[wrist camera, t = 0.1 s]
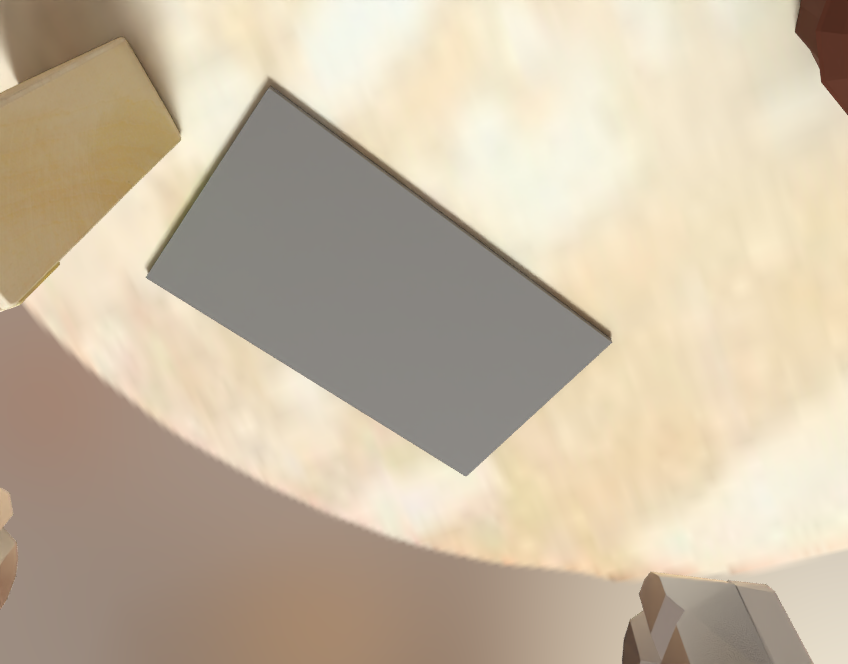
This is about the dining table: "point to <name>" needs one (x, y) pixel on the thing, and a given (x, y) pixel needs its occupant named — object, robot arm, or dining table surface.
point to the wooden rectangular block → (72, 157)
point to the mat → (371, 290)
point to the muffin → (827, 42)
